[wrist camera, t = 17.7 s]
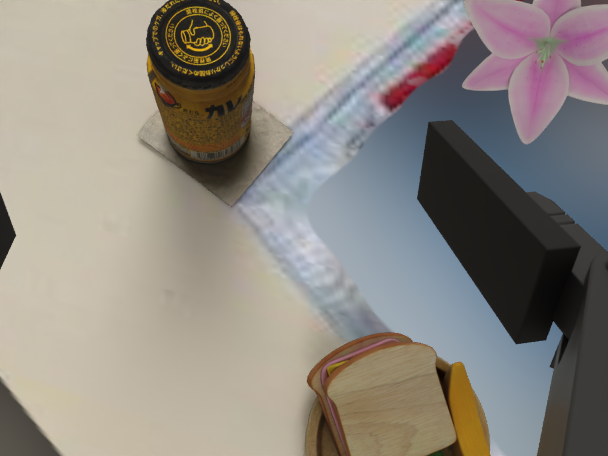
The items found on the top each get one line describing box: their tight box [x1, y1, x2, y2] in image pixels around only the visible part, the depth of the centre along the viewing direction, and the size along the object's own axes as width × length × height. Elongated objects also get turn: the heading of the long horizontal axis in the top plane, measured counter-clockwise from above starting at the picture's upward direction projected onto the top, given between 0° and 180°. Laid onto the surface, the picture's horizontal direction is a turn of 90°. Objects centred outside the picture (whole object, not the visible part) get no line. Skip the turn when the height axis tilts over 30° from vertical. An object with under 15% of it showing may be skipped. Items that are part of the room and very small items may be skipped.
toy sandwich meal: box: [305, 333, 491, 456], centre depth 34 cm, size 12×14×5 cm
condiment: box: [137, 0, 293, 207], centre depth 33 cm, size 7×8×12 cm
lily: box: [462, 0, 608, 144], centre depth 39 cm, size 12×12×10 cm
